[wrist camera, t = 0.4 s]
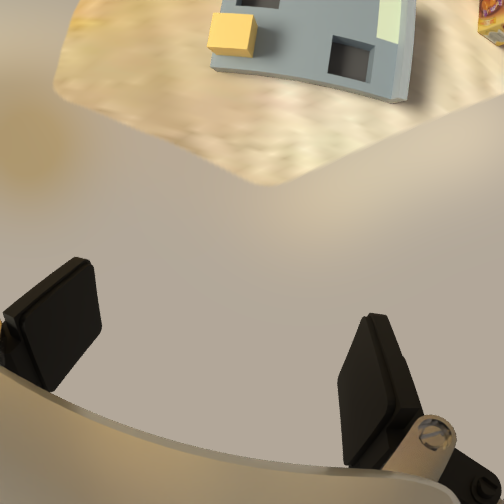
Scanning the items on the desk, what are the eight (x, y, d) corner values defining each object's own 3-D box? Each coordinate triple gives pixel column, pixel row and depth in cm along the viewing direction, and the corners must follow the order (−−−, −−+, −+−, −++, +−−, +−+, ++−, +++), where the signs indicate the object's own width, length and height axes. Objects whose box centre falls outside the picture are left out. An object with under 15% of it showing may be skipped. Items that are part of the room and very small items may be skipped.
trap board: (234, -23, 26) (225, -43, 21) (401, 7, 25) (416, -8, 20) (216, 71, 32) (203, 62, 27) (391, 103, 31) (406, 100, 26)
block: (222, 24, 27) (213, 12, 23) (257, 26, 27) (253, 14, 23) (216, 55, 29) (206, 46, 25) (252, 58, 28) (247, 49, 25)
